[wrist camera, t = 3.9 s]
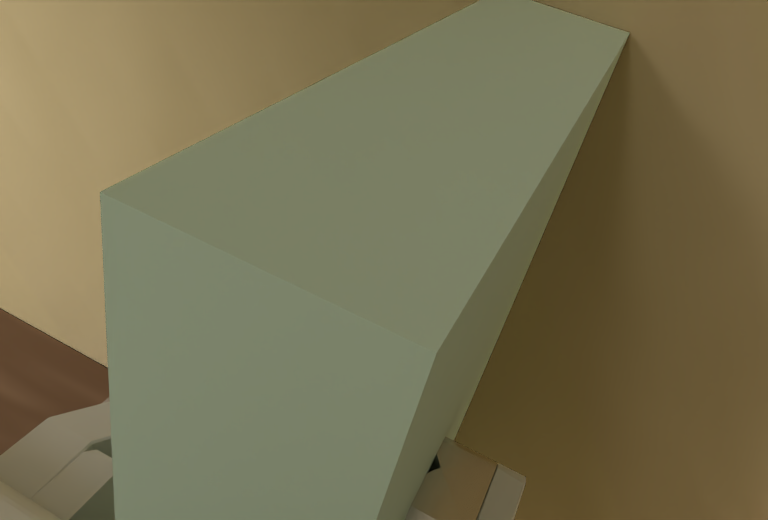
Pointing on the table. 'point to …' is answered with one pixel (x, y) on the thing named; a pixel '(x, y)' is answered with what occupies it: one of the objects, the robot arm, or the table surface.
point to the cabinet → (42, 379)
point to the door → (338, 270)
